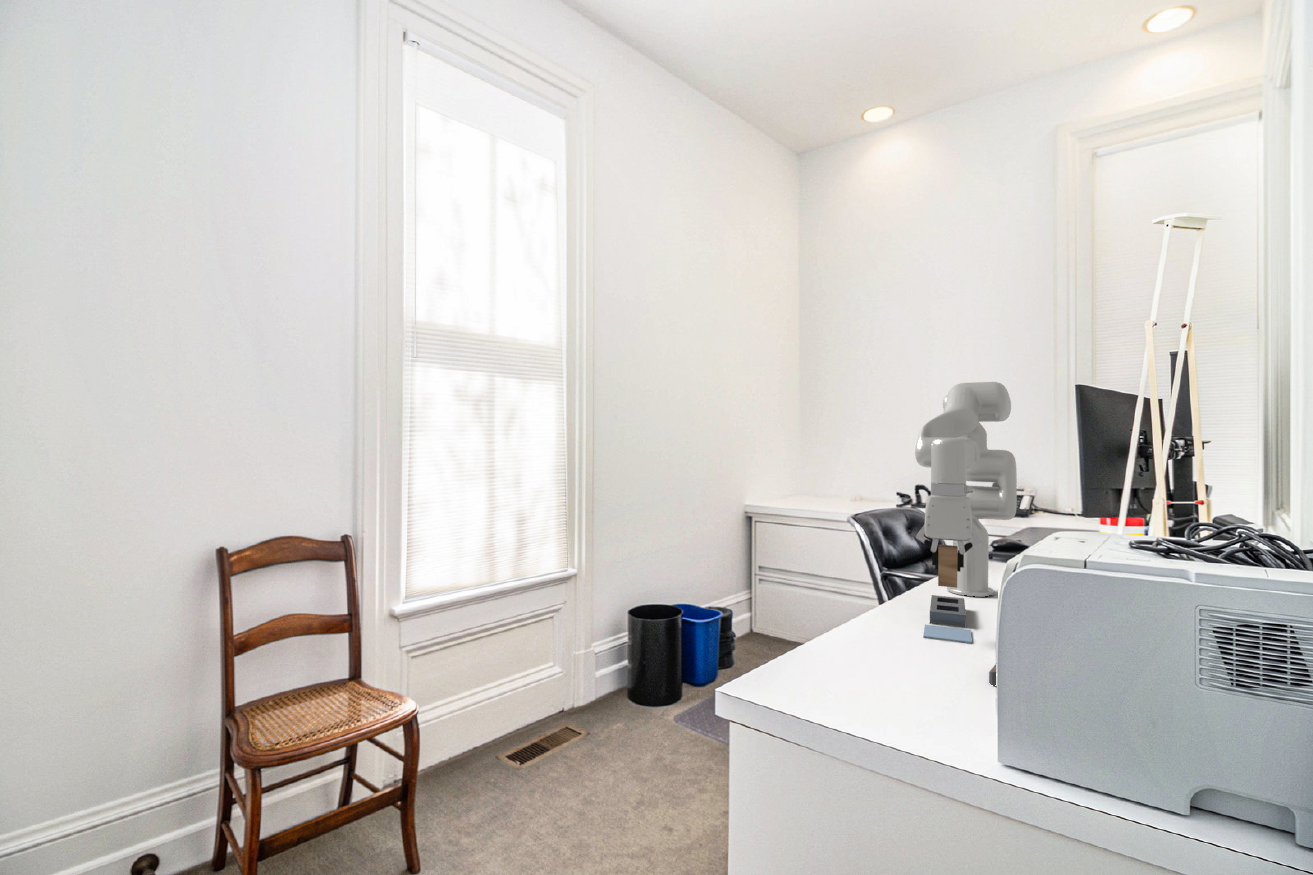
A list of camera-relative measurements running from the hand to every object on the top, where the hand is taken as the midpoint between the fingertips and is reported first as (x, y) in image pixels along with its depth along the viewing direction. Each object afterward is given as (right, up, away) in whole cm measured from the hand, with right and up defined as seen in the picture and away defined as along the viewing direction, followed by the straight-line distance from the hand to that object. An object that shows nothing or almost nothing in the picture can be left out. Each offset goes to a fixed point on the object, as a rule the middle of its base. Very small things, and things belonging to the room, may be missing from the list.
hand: (947, 568), depth 150 cm
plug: (0, -4, 0) cm, 4 cm away
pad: (0, -15, 0) cm, 15 cm away
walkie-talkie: (+3, -16, -26) cm, 31 cm away
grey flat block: (+7, -15, +16) cm, 23 cm away
